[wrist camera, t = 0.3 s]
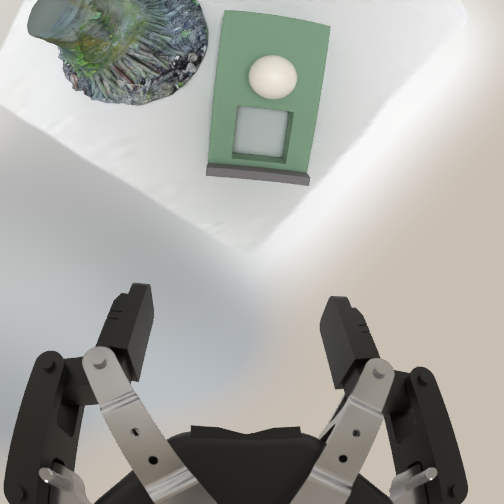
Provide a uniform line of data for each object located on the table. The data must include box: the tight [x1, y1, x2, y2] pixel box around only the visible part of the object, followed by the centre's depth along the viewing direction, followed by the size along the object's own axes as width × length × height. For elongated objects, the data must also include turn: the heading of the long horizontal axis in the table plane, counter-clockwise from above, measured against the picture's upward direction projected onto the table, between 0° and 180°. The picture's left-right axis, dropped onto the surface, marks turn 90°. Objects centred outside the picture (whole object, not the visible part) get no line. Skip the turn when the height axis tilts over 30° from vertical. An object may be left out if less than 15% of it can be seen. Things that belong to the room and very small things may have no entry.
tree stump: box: [27, 0, 208, 105], centre depth 20 cm, size 18×20×18 cm
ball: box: [249, 55, 297, 99], centre depth 26 cm, size 5×5×5 cm
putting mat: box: [206, 10, 331, 186], centre depth 29 cm, size 20×12×5 cm, turn 173°
